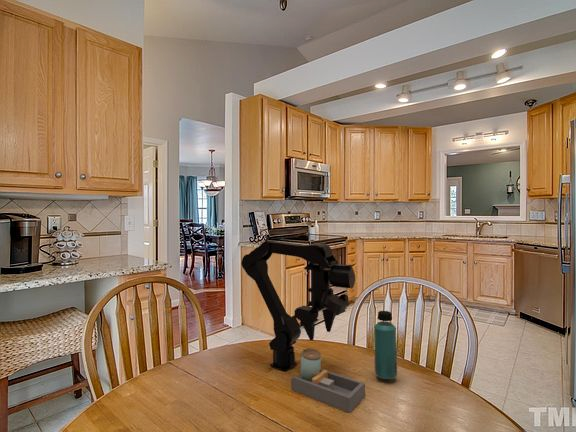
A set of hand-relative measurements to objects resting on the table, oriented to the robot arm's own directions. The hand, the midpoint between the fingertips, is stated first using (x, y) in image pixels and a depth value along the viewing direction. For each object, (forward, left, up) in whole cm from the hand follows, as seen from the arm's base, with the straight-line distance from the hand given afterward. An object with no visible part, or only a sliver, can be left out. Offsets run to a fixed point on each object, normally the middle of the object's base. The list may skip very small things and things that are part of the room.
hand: (320, 335), depth 100 cm
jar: (+1, -8, -10) cm, 13 cm away
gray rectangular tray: (+7, -8, -12) cm, 16 cm away
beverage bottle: (+17, +9, -12) cm, 23 cm away
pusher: (+6, -8, -11) cm, 15 cm away
